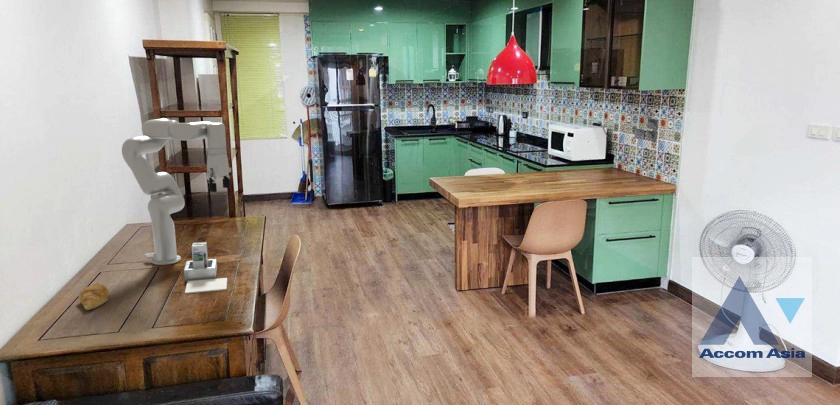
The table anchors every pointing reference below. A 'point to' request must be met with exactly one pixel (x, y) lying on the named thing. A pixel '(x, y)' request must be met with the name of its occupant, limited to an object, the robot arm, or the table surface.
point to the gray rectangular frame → (200, 271)
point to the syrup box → (199, 255)
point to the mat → (206, 285)
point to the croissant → (93, 296)
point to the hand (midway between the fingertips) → (220, 189)
